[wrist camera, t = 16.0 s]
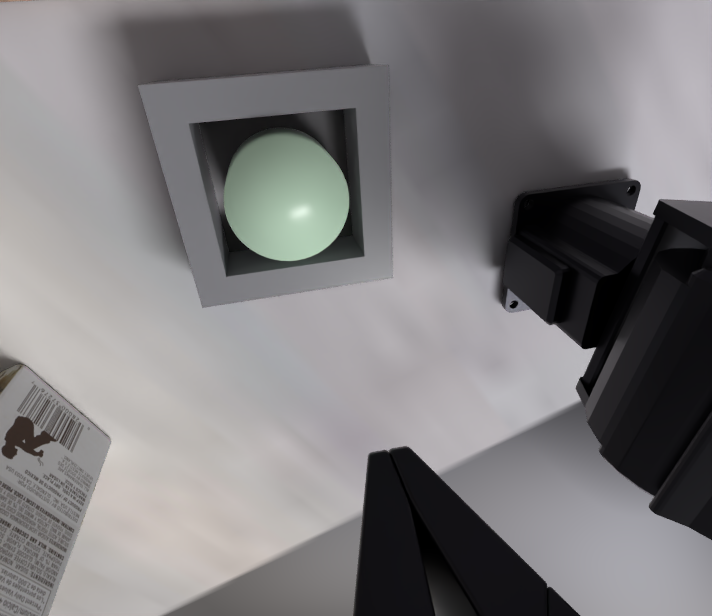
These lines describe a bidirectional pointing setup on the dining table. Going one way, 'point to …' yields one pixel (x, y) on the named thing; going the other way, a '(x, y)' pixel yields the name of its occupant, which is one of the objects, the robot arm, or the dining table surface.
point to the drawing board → (12, 0)
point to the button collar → (268, 98)
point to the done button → (285, 195)
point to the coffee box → (41, 488)
